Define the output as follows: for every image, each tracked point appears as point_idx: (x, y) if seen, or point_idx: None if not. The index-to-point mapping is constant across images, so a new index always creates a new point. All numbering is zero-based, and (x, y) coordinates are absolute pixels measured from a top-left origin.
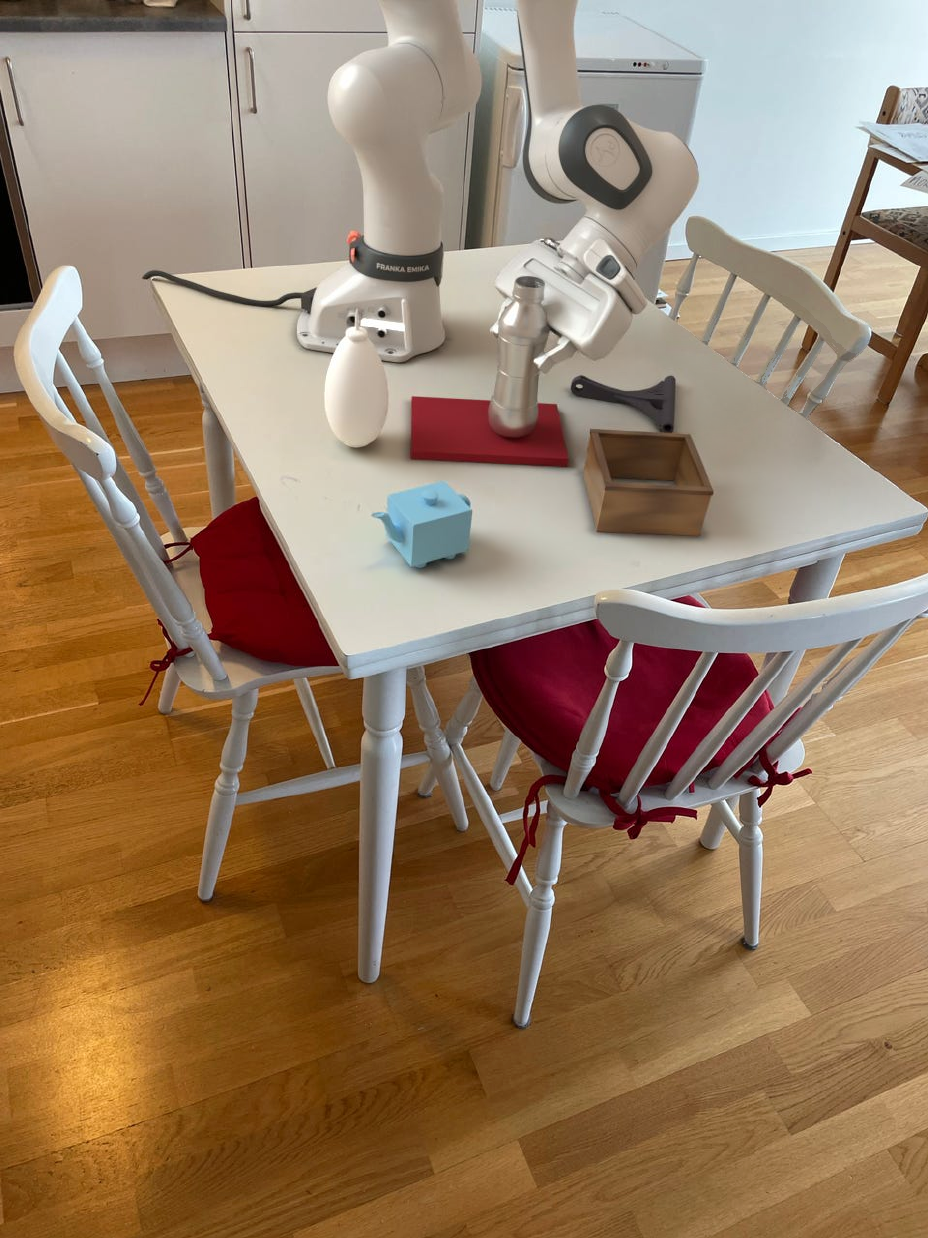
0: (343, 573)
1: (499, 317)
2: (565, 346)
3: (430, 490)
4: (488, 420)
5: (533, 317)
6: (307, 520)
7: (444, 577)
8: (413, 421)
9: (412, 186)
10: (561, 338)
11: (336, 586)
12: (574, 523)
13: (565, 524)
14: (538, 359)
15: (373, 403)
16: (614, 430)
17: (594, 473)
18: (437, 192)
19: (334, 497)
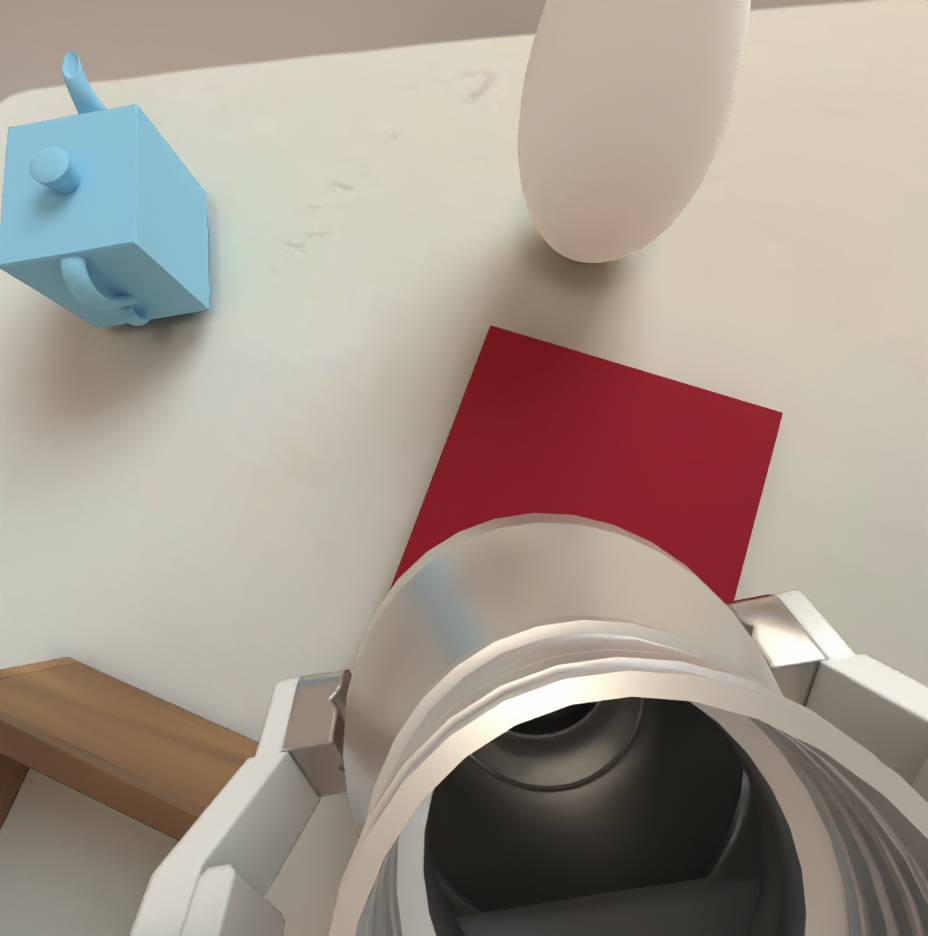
0: (164, 120)
1: (864, 664)
2: (143, 903)
3: (61, 167)
4: None
5: (367, 764)
6: (334, 93)
7: None
8: (634, 373)
9: None
10: (209, 928)
11: (137, 104)
12: (117, 618)
13: (122, 594)
14: (311, 695)
15: (523, 130)
16: None
17: (118, 733)
18: None
19: (391, 151)
